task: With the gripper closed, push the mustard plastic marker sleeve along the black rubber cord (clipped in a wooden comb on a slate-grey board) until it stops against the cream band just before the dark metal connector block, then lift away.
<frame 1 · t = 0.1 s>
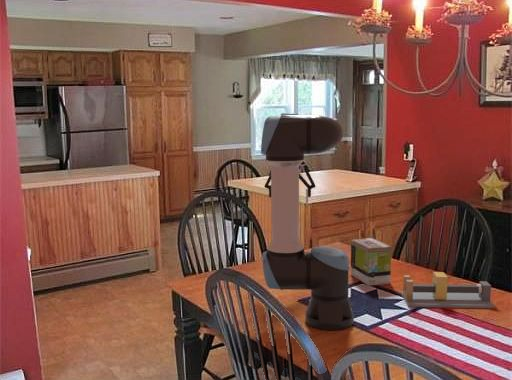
hand: (289, 205, 215), 28 cm above the table, fingers open, 13 cm apart
cord board: (445, 301, 185), on the table
sleeve: (439, 285, 184), point 6 cm above the table, slide at 0.0 cm
tea box: (370, 279, 209), on the table
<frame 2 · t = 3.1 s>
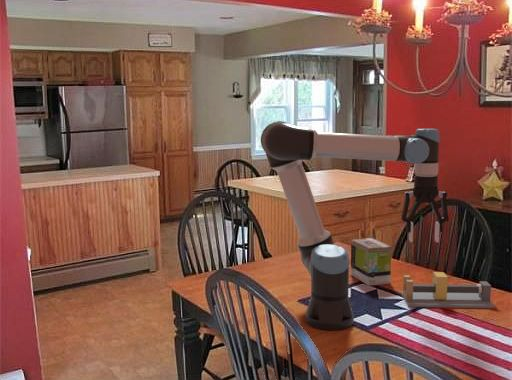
hand: (423, 241, 182), 21 cm above the table, fingers open, 8 cm apart
nothing on the table moved.
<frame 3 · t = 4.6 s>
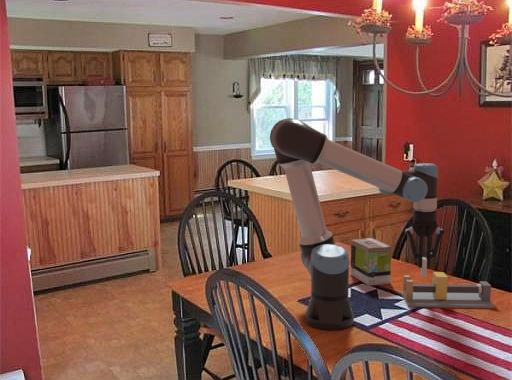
hand: (423, 276, 184), 9 cm above the table, fingers closed
nothing on the table moved.
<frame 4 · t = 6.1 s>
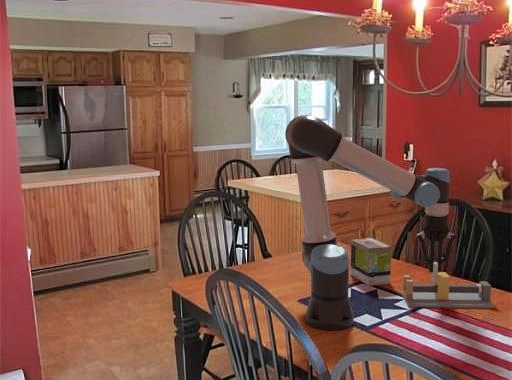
hand: (434, 281, 184), 7 cm above the table, fingers closed
sleeve: (441, 285, 184), point 5 cm above the table, slide at 0.6 cm, touching gripper
everything else where it was.
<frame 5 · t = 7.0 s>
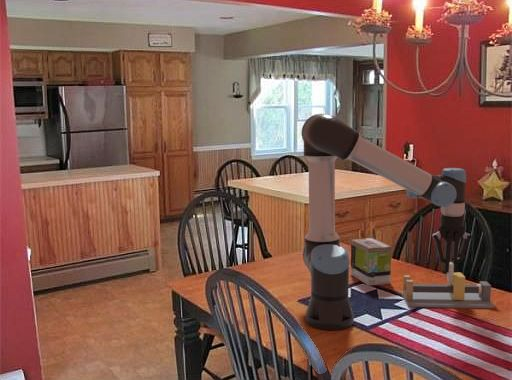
hand: (449, 281, 184), 7 cm above the table, fingers closed
sleeve: (457, 285, 184), point 5 cm above the table, slide at 5.8 cm, touching gripper
everything else where it was.
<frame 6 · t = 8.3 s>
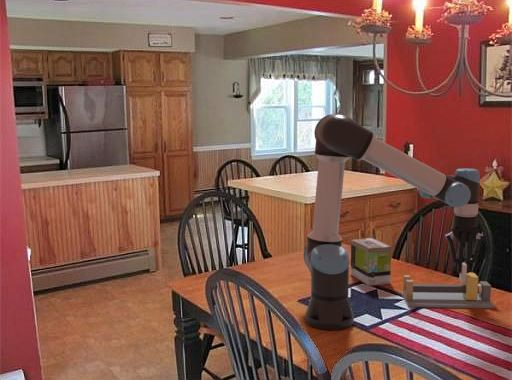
hand: (462, 281, 183), 7 cm above the table, fingers closed
sleeve: (469, 286, 183), point 6 cm above the table, slide at 10.1 cm, touching gripper
everything else where it was.
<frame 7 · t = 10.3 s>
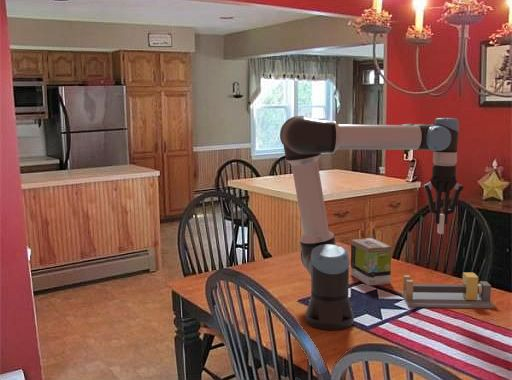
hand: (440, 233, 183), 24 cm above the table, fingers closed
sleeve: (469, 286, 183), point 5 cm above the table, slide at 10.1 cm
everything else where it was.
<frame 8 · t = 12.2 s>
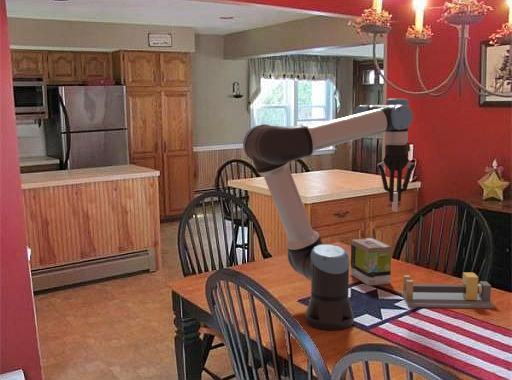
hand: (394, 210, 188), 30 cm above the table, fingers closed
nothing on the table moved.
at the end: sleeve slide at 10.1 cm; the gripper is holding nothing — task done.
